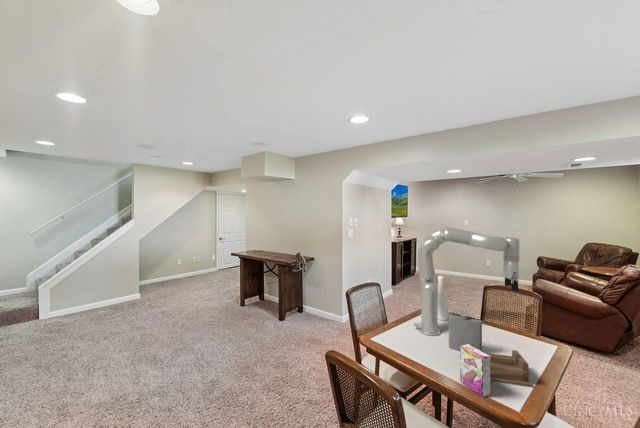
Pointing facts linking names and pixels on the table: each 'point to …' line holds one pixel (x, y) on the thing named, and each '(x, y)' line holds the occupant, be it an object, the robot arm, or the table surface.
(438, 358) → the table surface
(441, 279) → the white tall cylinder
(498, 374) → the brown rectangular open tray
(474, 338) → the hip flask
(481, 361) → the candy bar box
